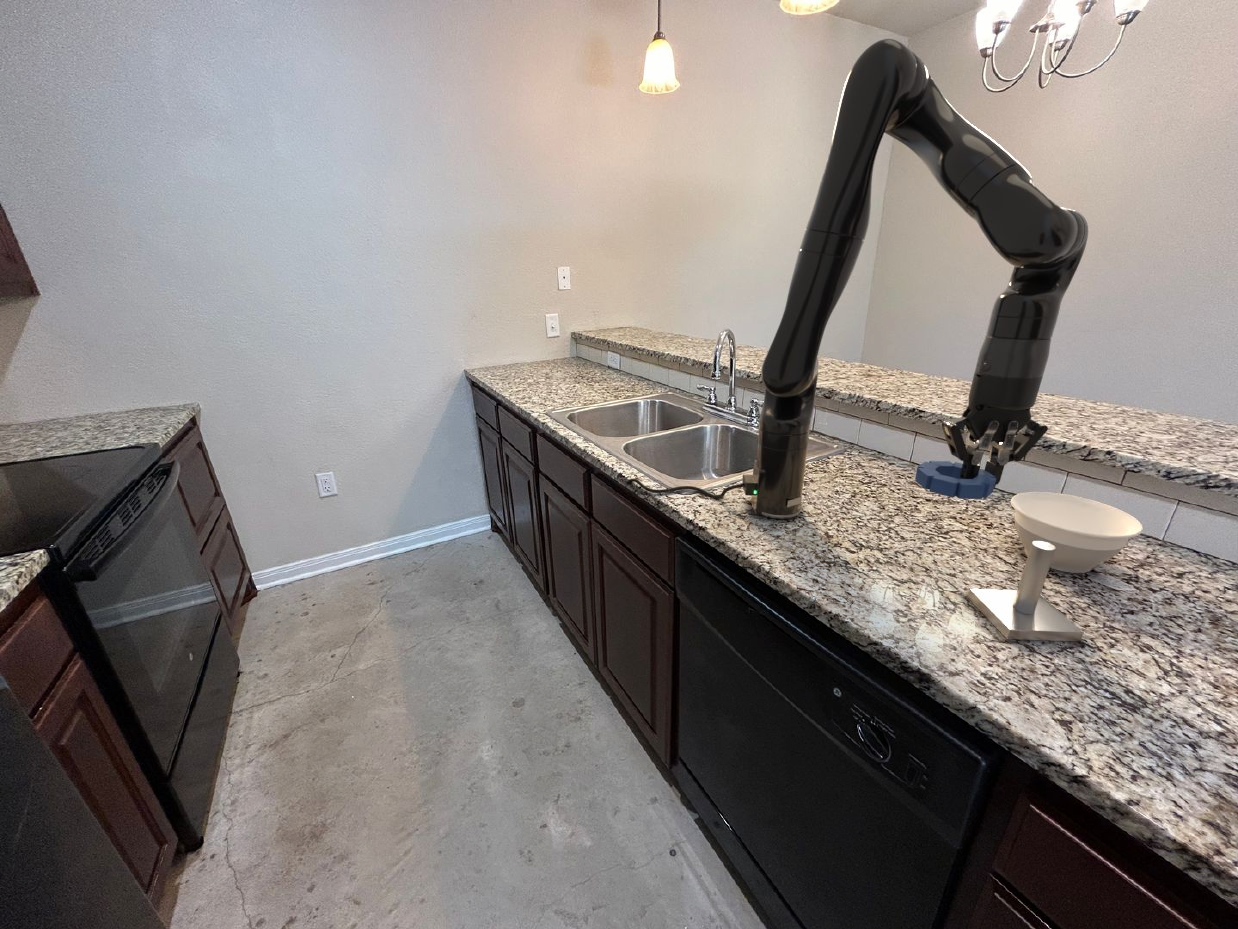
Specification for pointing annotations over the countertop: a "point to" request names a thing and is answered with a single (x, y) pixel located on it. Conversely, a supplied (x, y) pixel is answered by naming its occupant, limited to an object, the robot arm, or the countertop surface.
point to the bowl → (1073, 528)
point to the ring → (954, 480)
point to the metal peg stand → (1027, 604)
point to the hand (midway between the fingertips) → (977, 485)
